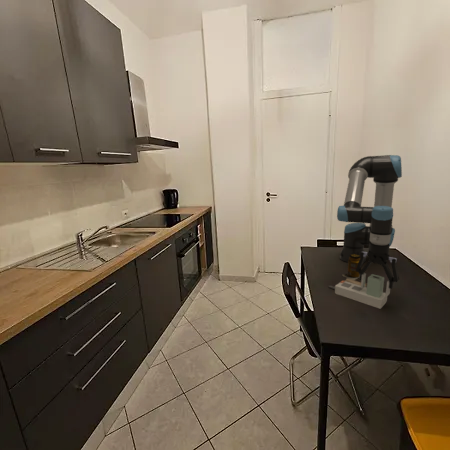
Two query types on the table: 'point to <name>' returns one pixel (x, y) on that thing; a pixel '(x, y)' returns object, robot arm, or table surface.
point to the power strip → (359, 294)
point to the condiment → (353, 267)
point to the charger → (375, 285)
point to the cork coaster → (354, 282)
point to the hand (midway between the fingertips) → (374, 290)
